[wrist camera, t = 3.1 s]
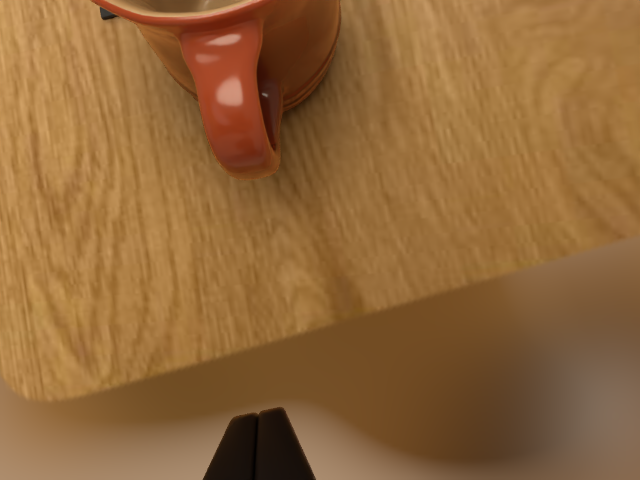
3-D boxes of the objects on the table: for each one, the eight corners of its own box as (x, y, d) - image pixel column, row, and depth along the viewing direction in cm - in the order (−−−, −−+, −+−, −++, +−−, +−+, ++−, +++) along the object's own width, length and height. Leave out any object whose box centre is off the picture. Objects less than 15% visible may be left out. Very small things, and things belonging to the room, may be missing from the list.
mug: (149, -28, 25) (7, -255, 15) (339, -63, 25) (328, -321, 14) (180, 232, 24) (48, 175, 13) (384, 198, 23) (408, 114, 13)
